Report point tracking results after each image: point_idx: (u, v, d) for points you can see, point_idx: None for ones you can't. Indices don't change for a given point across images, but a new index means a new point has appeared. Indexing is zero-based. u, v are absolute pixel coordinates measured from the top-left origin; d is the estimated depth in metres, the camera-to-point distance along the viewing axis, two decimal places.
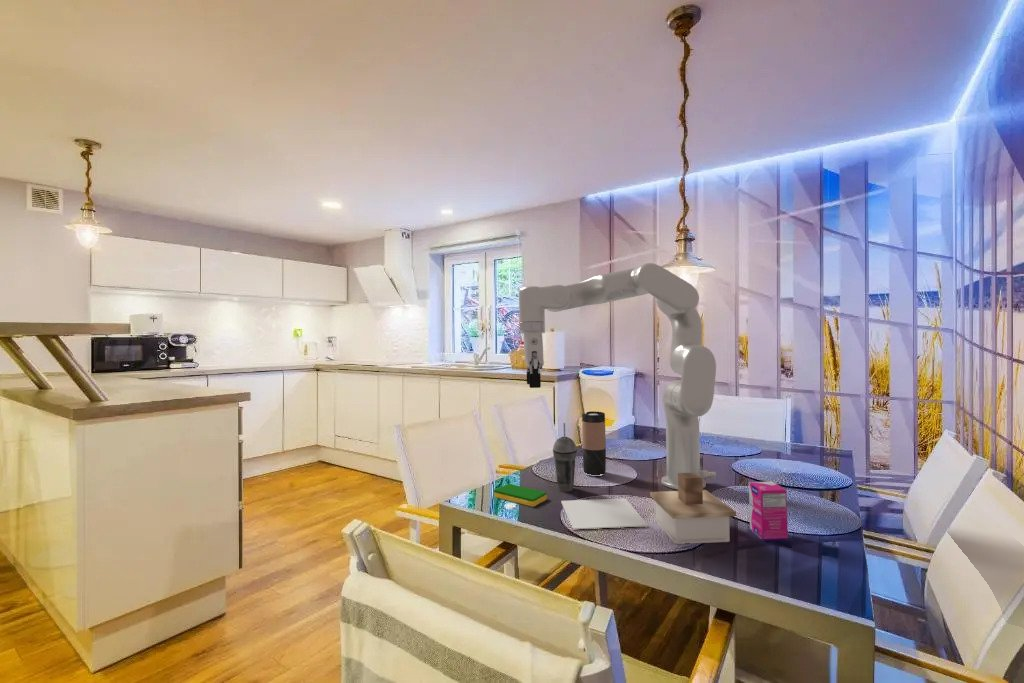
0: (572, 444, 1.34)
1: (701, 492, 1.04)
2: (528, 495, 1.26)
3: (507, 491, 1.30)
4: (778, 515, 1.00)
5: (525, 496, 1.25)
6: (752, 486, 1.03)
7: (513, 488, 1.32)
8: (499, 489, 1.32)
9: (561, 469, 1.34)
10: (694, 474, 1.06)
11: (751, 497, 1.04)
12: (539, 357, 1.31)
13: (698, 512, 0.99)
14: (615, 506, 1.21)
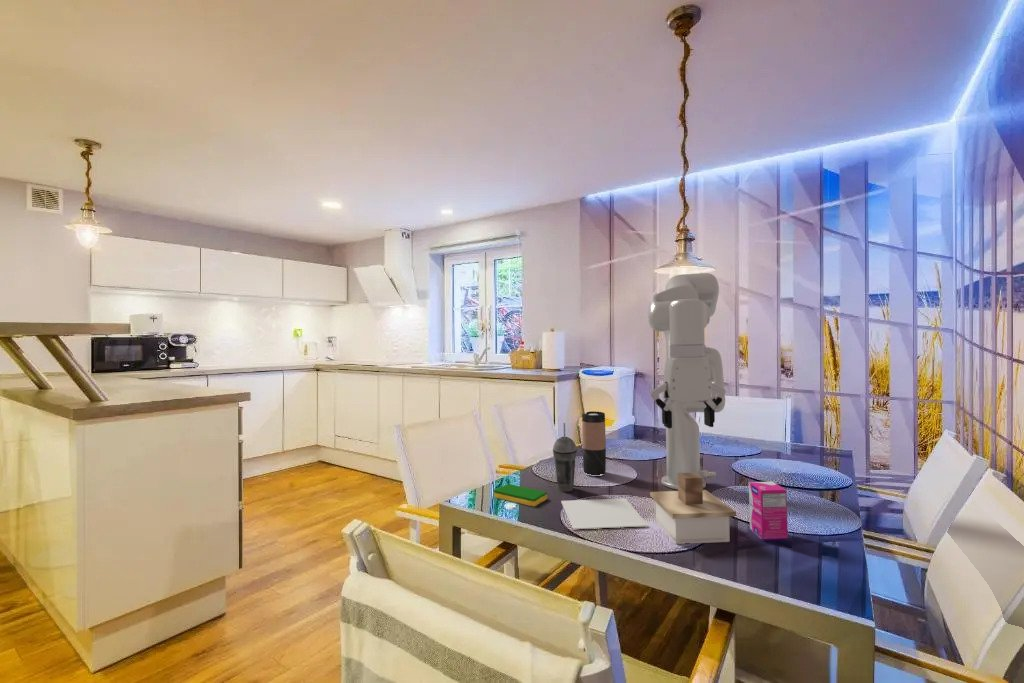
0: (572, 444, 1.34)
1: (701, 492, 1.04)
2: (528, 495, 1.26)
3: (507, 491, 1.30)
4: (778, 515, 1.00)
5: (526, 496, 1.26)
6: (752, 486, 1.03)
7: (513, 488, 1.32)
8: (499, 489, 1.31)
9: (561, 469, 1.34)
10: (694, 474, 1.06)
11: (751, 497, 1.04)
12: None
13: (698, 512, 0.99)
14: (615, 506, 1.21)
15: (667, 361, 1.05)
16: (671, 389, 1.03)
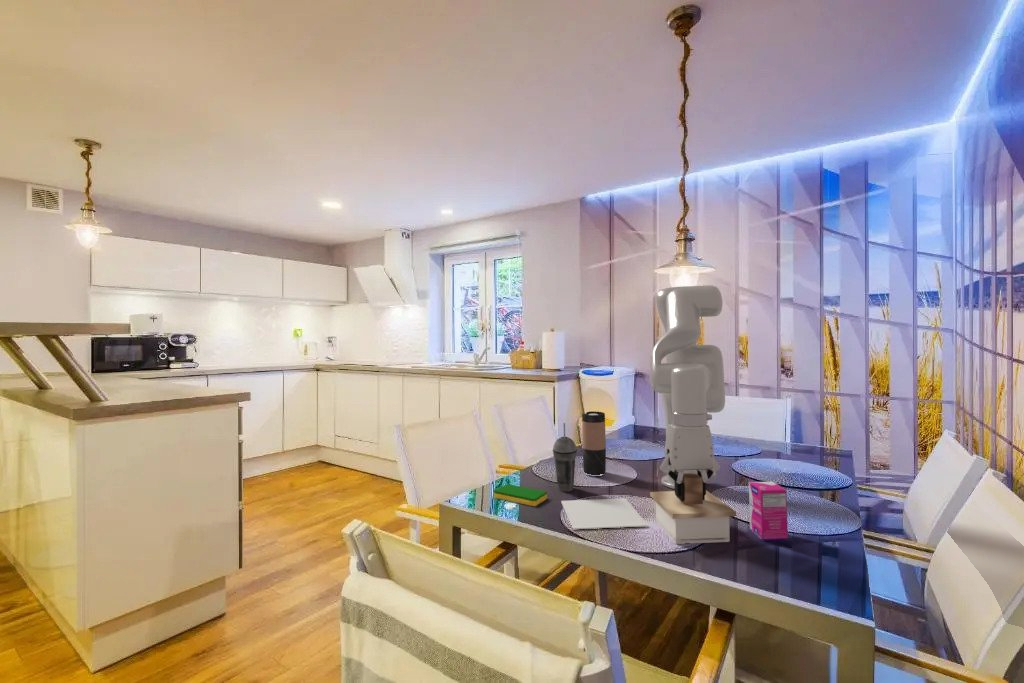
0: (572, 444, 1.34)
1: (701, 492, 1.04)
2: (529, 495, 1.26)
3: (507, 491, 1.29)
4: (778, 515, 1.00)
5: (526, 496, 1.26)
6: (752, 486, 1.03)
7: (512, 488, 1.32)
8: (499, 489, 1.31)
9: (561, 469, 1.34)
10: (694, 474, 1.06)
11: (751, 497, 1.04)
12: None
13: (698, 512, 0.99)
14: (615, 506, 1.21)
15: (669, 428, 1.06)
16: (673, 457, 1.03)
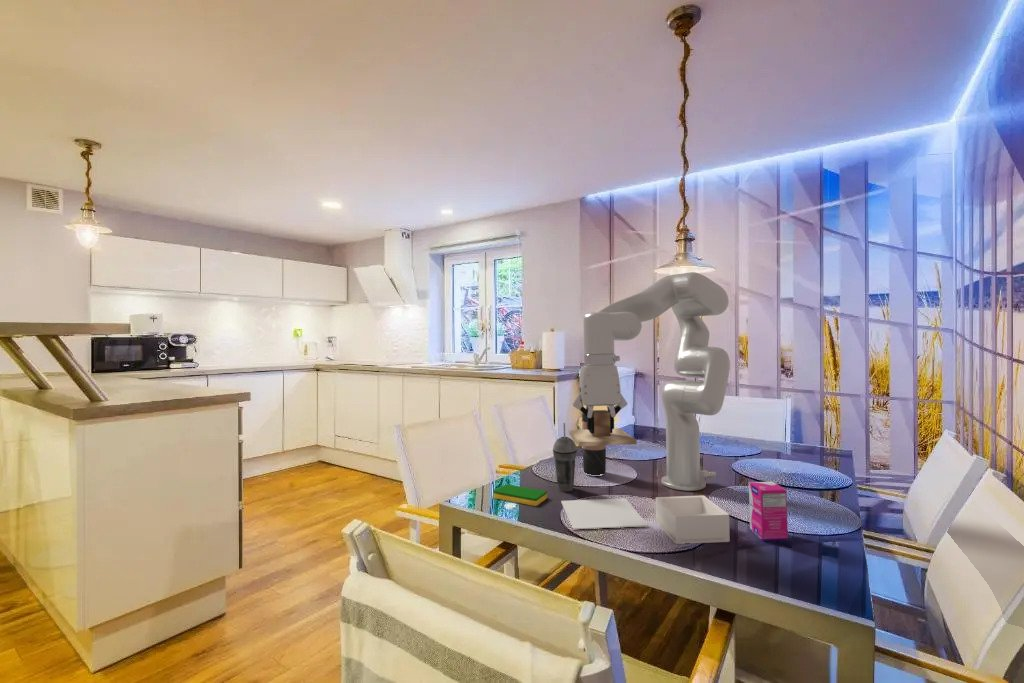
0: (572, 444, 1.34)
1: (609, 425, 1.15)
2: (529, 495, 1.26)
3: (507, 491, 1.29)
4: (778, 515, 1.00)
5: (527, 496, 1.26)
6: (752, 486, 1.03)
7: (512, 488, 1.32)
8: (498, 490, 1.31)
9: (561, 469, 1.34)
10: (604, 410, 1.17)
11: (751, 497, 1.04)
12: None
13: (602, 441, 1.10)
14: (615, 506, 1.21)
15: (581, 368, 1.16)
16: (583, 394, 1.14)
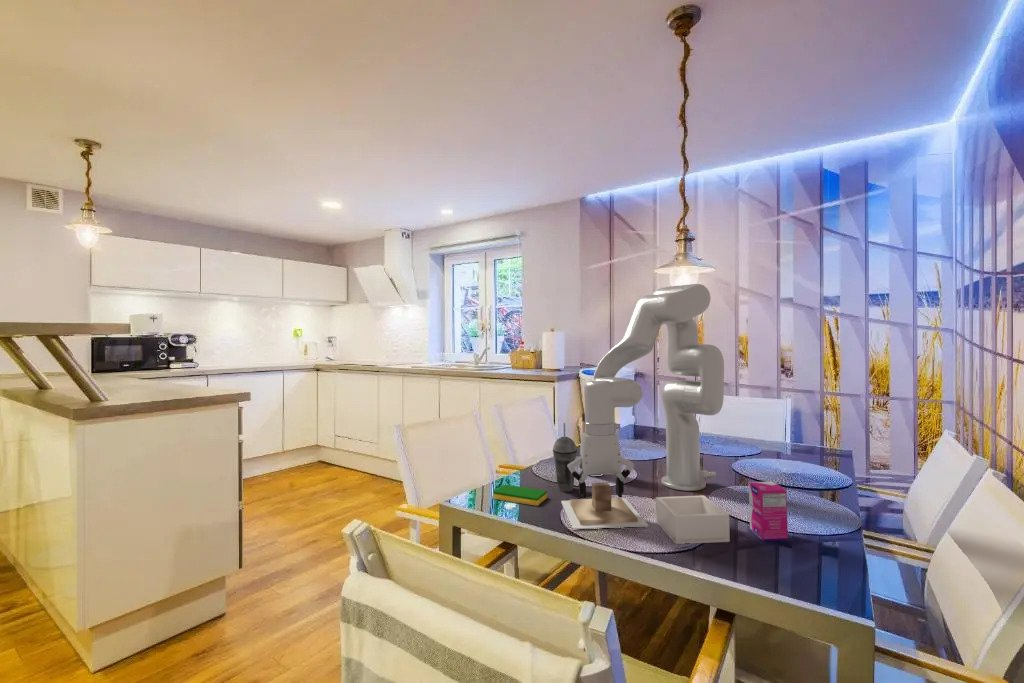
0: (572, 444, 1.34)
1: (610, 500, 1.15)
2: (530, 494, 1.27)
3: (507, 492, 1.29)
4: (778, 515, 1.00)
5: (528, 495, 1.26)
6: (752, 486, 1.03)
7: (512, 488, 1.32)
8: (498, 490, 1.31)
9: (561, 469, 1.34)
10: (605, 484, 1.17)
11: (751, 497, 1.04)
12: None
13: (603, 518, 1.10)
14: None
15: (582, 436, 1.17)
16: (584, 463, 1.15)
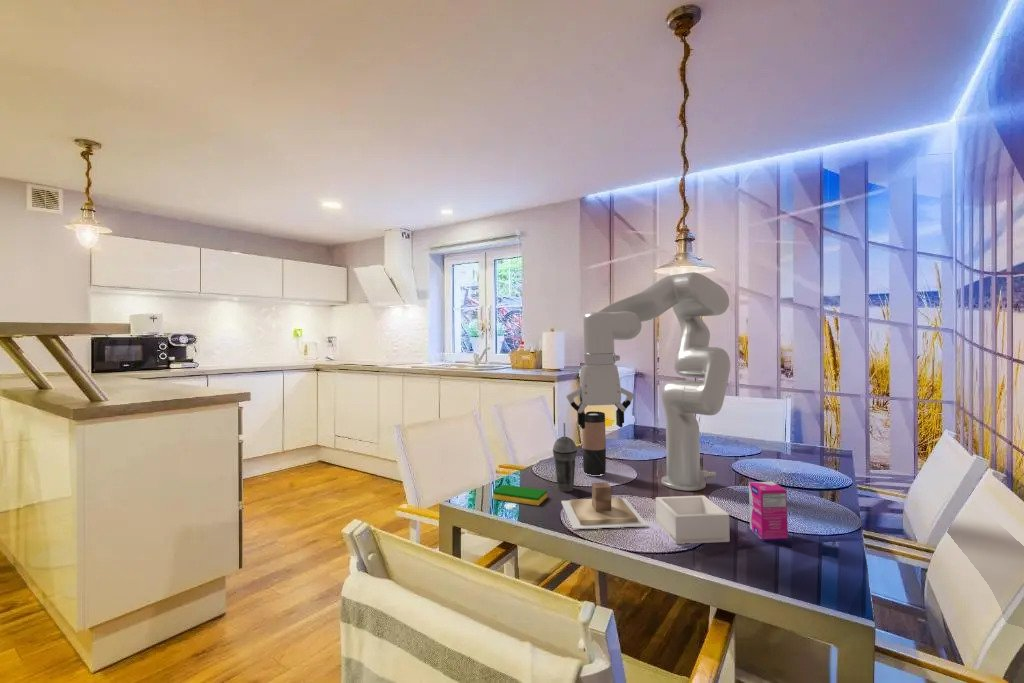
0: (572, 444, 1.34)
1: (610, 500, 1.15)
2: (531, 494, 1.27)
3: (507, 492, 1.29)
4: (778, 515, 1.00)
5: (528, 495, 1.26)
6: (752, 486, 1.03)
7: (512, 489, 1.32)
8: (498, 490, 1.30)
9: (561, 469, 1.34)
10: (605, 484, 1.17)
11: (751, 497, 1.04)
12: None
13: (603, 518, 1.10)
14: None
15: (581, 368, 1.17)
16: (583, 393, 1.15)
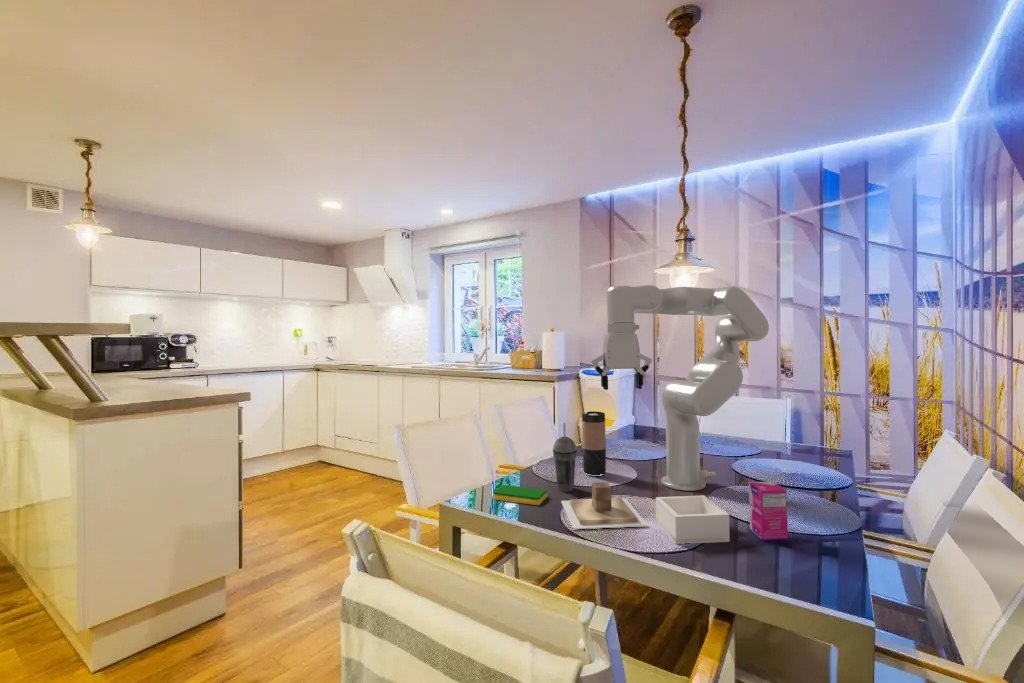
0: (572, 444, 1.34)
1: (610, 500, 1.15)
2: (531, 494, 1.27)
3: (507, 492, 1.29)
4: (778, 515, 1.00)
5: (529, 495, 1.26)
6: (752, 486, 1.03)
7: (511, 489, 1.32)
8: (498, 491, 1.30)
9: (561, 469, 1.34)
10: (605, 484, 1.17)
11: (751, 497, 1.04)
12: None
13: (603, 518, 1.10)
14: None
15: (605, 336, 1.31)
16: (607, 358, 1.29)
